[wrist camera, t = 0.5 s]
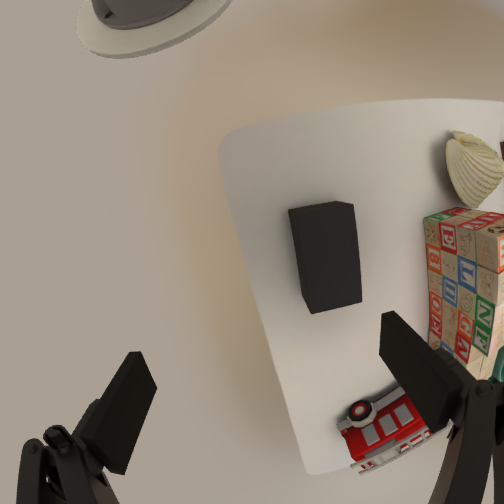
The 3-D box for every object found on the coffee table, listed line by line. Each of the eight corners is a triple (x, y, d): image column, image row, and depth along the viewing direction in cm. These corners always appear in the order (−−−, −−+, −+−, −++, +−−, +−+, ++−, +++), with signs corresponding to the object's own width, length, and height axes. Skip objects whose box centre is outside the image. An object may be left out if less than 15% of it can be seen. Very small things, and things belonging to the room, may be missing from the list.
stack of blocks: (456, 345, 31) (503, 389, 19) (426, 362, 31) (469, 414, 19) (457, 205, 26) (531, 220, 14) (421, 216, 26) (499, 237, 14)
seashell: (464, 111, 21) (513, 154, 18) (439, 156, 29) (481, 194, 26) (449, 133, 19) (508, 187, 16) (419, 184, 27) (467, 229, 24)
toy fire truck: (446, 376, 32) (477, 411, 22) (351, 439, 34) (367, 484, 25) (438, 343, 30) (477, 380, 21) (329, 415, 33) (346, 468, 23)
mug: (476, 291, 29) (519, 316, 19) (516, 280, 29) (552, 298, 19) (450, 380, 33) (478, 413, 23) (492, 360, 32) (519, 385, 23)
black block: (288, 209, 26) (296, 214, 22) (336, 200, 26) (353, 204, 21) (302, 295, 28) (310, 314, 24) (346, 285, 28) (362, 302, 23)
